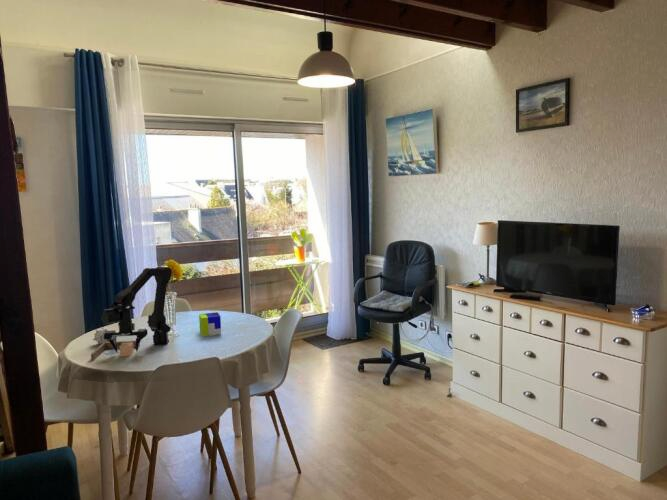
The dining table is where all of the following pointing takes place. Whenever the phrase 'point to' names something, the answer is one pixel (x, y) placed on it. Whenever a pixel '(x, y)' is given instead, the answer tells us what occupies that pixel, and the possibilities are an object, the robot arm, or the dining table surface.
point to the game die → (100, 336)
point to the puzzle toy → (210, 324)
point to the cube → (126, 349)
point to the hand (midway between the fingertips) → (126, 351)
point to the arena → (106, 346)
